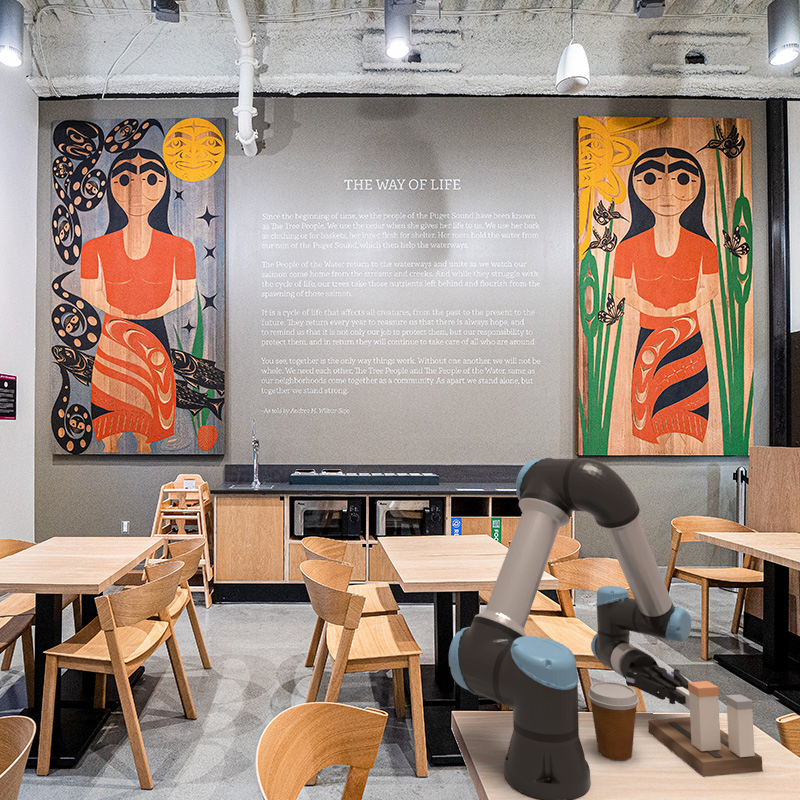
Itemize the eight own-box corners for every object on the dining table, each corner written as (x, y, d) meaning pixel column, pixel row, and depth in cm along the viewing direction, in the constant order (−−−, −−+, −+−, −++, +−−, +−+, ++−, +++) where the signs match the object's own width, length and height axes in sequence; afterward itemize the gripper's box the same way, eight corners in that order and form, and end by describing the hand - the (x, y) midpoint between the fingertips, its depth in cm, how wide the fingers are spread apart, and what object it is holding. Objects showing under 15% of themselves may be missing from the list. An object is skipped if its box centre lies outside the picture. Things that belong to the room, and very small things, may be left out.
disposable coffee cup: (645, 767, 114) (642, 700, 115) (592, 762, 116) (590, 697, 117) (636, 744, 124) (634, 682, 125) (587, 739, 126) (585, 679, 127)
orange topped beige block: (690, 743, 118) (687, 682, 119) (710, 742, 118) (707, 681, 119) (701, 751, 115) (698, 688, 116) (721, 749, 115) (718, 687, 116)
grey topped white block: (728, 749, 116) (725, 695, 116) (743, 747, 116) (740, 694, 117) (740, 757, 112) (737, 702, 113) (755, 756, 113) (752, 700, 114)
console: (648, 732, 129) (647, 715, 129) (700, 728, 131) (699, 711, 131) (703, 776, 111) (702, 756, 111) (762, 771, 113) (761, 751, 113)
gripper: (661, 680, 143) (730, 724, 120) (609, 684, 141) (669, 729, 118) (659, 647, 143) (728, 684, 120) (608, 650, 141) (668, 688, 118)
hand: (699, 706), depth 119 cm, fingers closed
